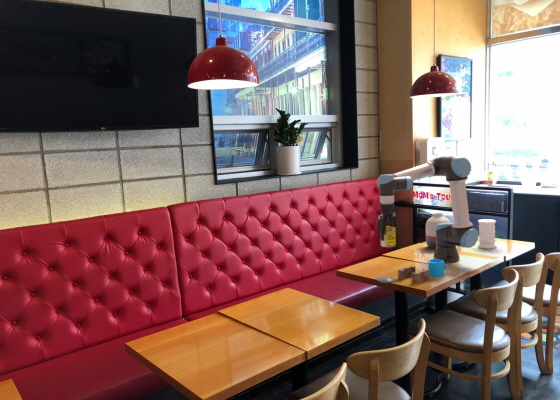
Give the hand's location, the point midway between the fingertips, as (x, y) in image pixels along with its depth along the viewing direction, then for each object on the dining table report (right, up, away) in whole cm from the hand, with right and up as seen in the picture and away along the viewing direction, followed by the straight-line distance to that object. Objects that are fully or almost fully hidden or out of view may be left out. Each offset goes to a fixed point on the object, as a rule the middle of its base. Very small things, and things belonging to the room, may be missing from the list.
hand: (388, 245), depth 240 cm
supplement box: (0, -1, 0) cm, 1 cm away
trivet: (0, -19, +3) cm, 20 cm away
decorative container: (+82, -7, +61) cm, 103 cm away
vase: (+52, -9, +68) cm, 86 cm away
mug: (+30, -17, +7) cm, 35 cm away
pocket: (+15, -19, +2) cm, 24 cm away
